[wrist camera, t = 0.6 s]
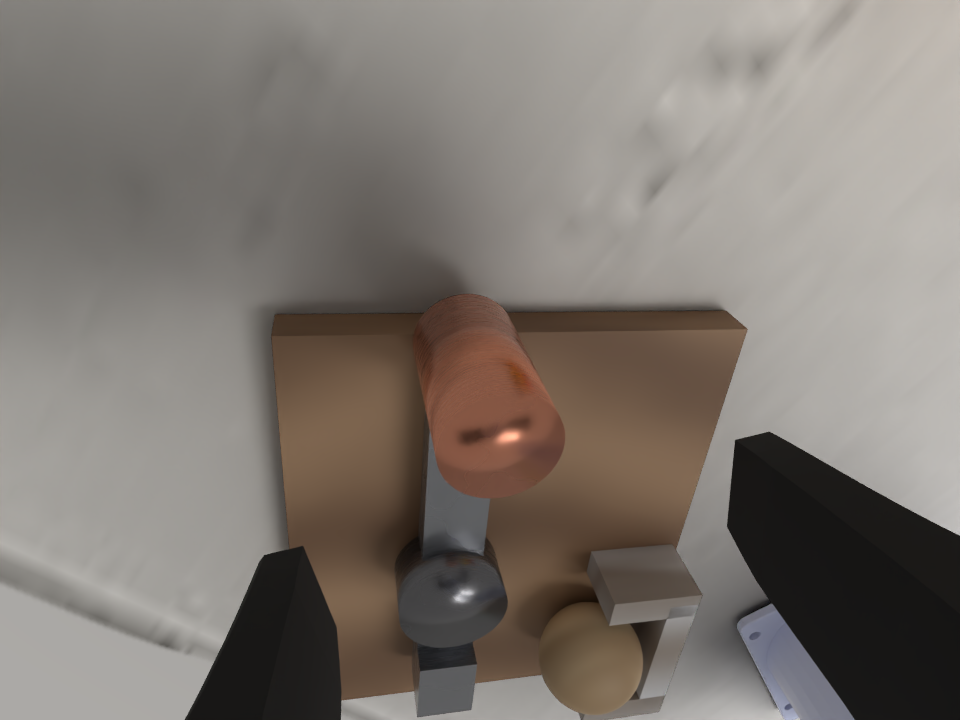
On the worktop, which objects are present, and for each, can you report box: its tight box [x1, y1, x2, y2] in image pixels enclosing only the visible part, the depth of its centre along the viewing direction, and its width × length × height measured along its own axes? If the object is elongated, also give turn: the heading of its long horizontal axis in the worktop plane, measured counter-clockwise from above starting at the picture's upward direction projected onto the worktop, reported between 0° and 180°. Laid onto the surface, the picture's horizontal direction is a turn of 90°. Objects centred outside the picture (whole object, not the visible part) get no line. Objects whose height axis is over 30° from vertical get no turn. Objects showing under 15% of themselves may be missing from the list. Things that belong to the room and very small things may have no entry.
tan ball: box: [539, 602, 643, 715], centre depth 22 cm, size 4×4×4 cm
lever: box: [394, 294, 565, 717], centre depth 18 cm, size 14×3×4 cm, turn 175°
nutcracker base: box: [271, 311, 748, 720], centre depth 20 cm, size 15×13×3 cm
